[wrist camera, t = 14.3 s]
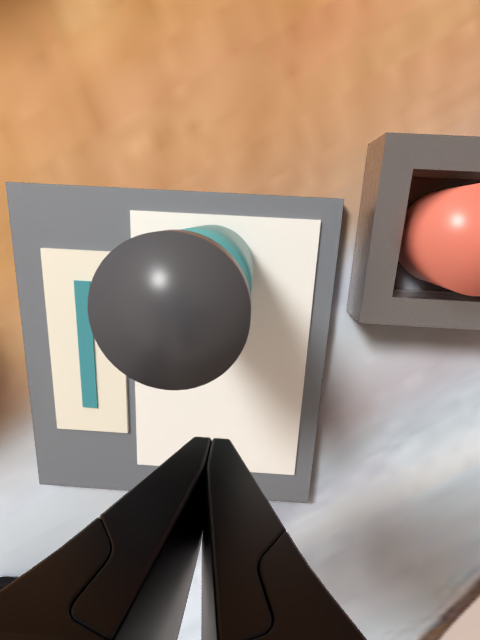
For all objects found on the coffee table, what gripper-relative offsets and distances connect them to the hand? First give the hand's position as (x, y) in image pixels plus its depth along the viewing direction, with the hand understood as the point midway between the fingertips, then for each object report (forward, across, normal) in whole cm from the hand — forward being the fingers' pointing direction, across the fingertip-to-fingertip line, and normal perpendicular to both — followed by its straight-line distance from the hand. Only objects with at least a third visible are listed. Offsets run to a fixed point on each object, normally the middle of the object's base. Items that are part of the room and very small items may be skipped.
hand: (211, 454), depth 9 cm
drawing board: (+11, +3, +2) cm, 12 cm away
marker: (+10, +1, -3) cm, 11 cm away
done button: (+11, -10, -5) cm, 16 cm away
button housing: (+11, -10, -6) cm, 16 cm away
